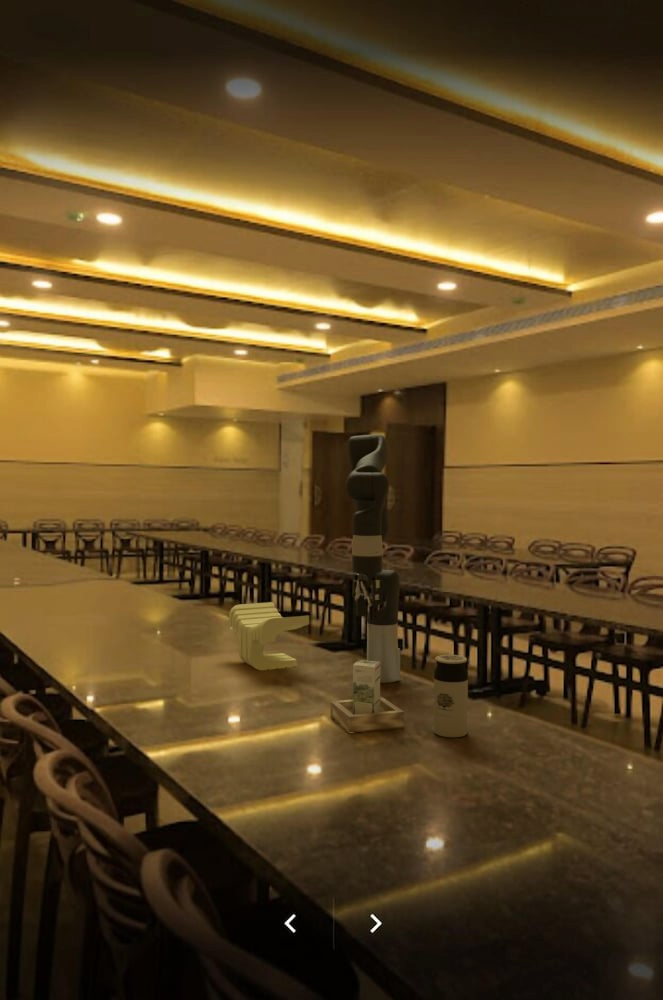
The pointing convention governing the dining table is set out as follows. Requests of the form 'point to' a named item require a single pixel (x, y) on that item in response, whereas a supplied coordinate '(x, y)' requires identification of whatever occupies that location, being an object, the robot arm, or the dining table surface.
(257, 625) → the slatted curved stool
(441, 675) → the travel mug
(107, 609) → the dining table surface
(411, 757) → the dining table surface
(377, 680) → the syrup box
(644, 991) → the dining table surface
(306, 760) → the dining table surface
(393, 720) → the socket block
